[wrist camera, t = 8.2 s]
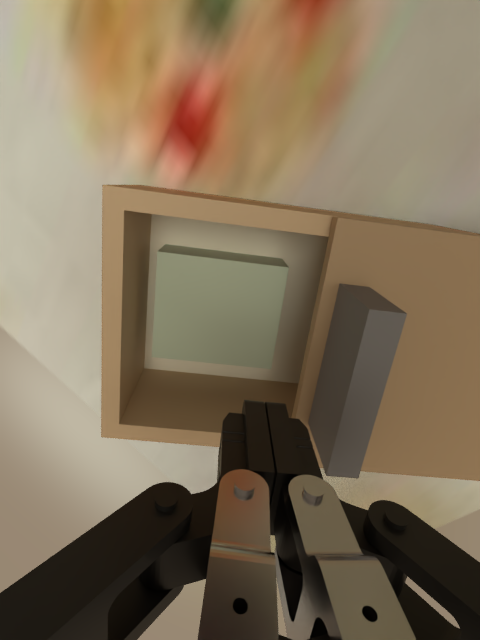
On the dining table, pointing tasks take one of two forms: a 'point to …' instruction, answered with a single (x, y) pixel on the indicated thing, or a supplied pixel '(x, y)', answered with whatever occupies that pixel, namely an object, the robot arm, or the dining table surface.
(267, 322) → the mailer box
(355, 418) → the lid
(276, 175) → the dining table surface
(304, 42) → the dining table surface
